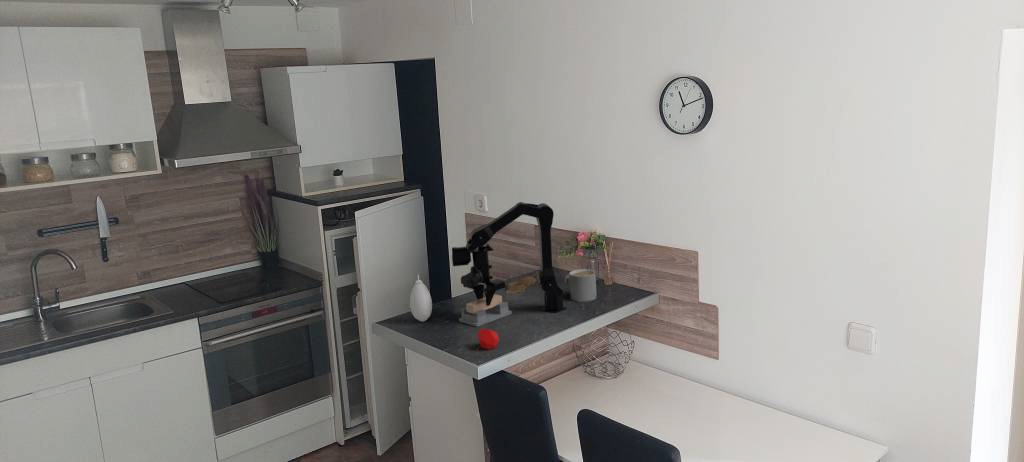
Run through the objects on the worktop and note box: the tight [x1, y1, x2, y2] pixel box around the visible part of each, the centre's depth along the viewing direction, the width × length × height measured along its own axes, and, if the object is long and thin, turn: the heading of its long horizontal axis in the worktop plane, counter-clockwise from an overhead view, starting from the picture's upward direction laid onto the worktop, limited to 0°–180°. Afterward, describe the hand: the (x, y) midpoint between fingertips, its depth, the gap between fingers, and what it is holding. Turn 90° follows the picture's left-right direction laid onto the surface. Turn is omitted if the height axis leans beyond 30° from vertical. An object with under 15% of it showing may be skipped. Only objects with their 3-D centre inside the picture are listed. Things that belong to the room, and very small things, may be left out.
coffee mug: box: [564, 268, 597, 303], centre depth 284 cm, size 13×10×10 cm
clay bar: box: [465, 293, 503, 314], centre depth 268 cm, size 4×14×3 cm, turn 134°
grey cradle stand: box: [458, 301, 513, 328], centre depth 269 cm, size 10×17×4 cm, turn 133°
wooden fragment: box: [506, 276, 538, 295], centre depth 308 cm, size 26×11×1 cm, turn 153°
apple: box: [477, 327, 500, 350], centre depth 240 cm, size 7×7×8 cm
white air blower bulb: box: [409, 274, 433, 322], centre depth 269 cm, size 8×8×18 cm
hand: (484, 304), depth 269 cm, fingers closed on clay bar, 4 cm apart
